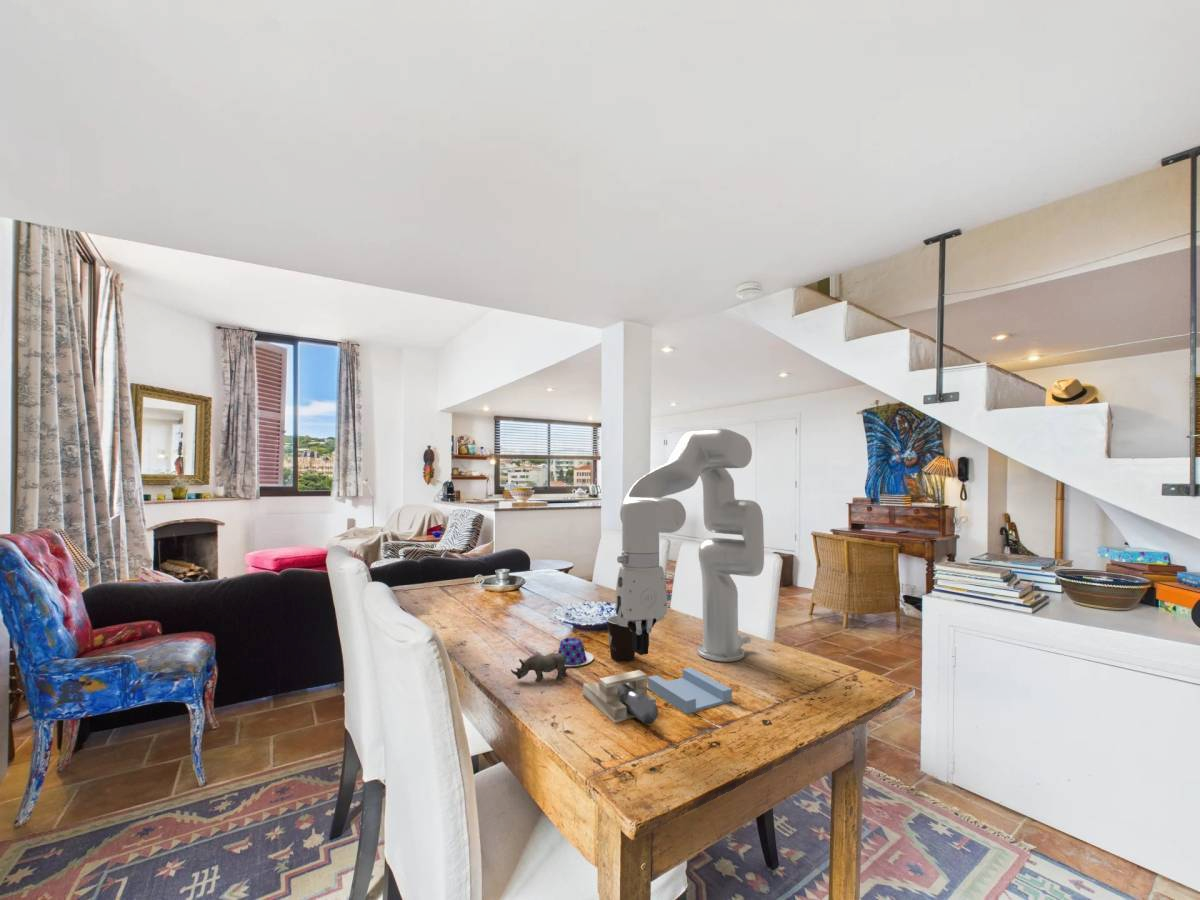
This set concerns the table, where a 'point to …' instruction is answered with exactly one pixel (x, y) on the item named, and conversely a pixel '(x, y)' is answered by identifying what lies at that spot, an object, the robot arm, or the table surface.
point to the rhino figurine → (542, 665)
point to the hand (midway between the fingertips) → (640, 652)
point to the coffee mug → (620, 641)
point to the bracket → (616, 693)
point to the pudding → (574, 652)
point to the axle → (637, 704)
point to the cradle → (691, 691)
